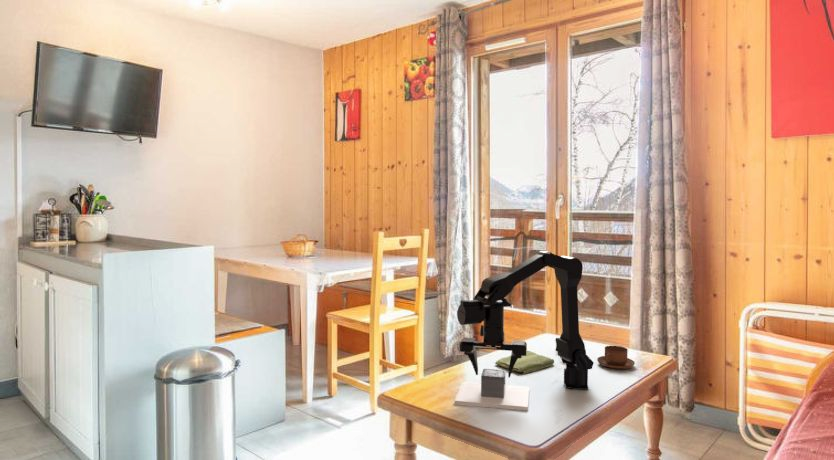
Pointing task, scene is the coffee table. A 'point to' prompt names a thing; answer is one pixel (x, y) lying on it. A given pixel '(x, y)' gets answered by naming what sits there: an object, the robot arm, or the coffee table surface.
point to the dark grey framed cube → (493, 383)
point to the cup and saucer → (616, 358)
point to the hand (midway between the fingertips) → (493, 375)
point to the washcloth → (527, 363)
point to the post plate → (512, 399)
